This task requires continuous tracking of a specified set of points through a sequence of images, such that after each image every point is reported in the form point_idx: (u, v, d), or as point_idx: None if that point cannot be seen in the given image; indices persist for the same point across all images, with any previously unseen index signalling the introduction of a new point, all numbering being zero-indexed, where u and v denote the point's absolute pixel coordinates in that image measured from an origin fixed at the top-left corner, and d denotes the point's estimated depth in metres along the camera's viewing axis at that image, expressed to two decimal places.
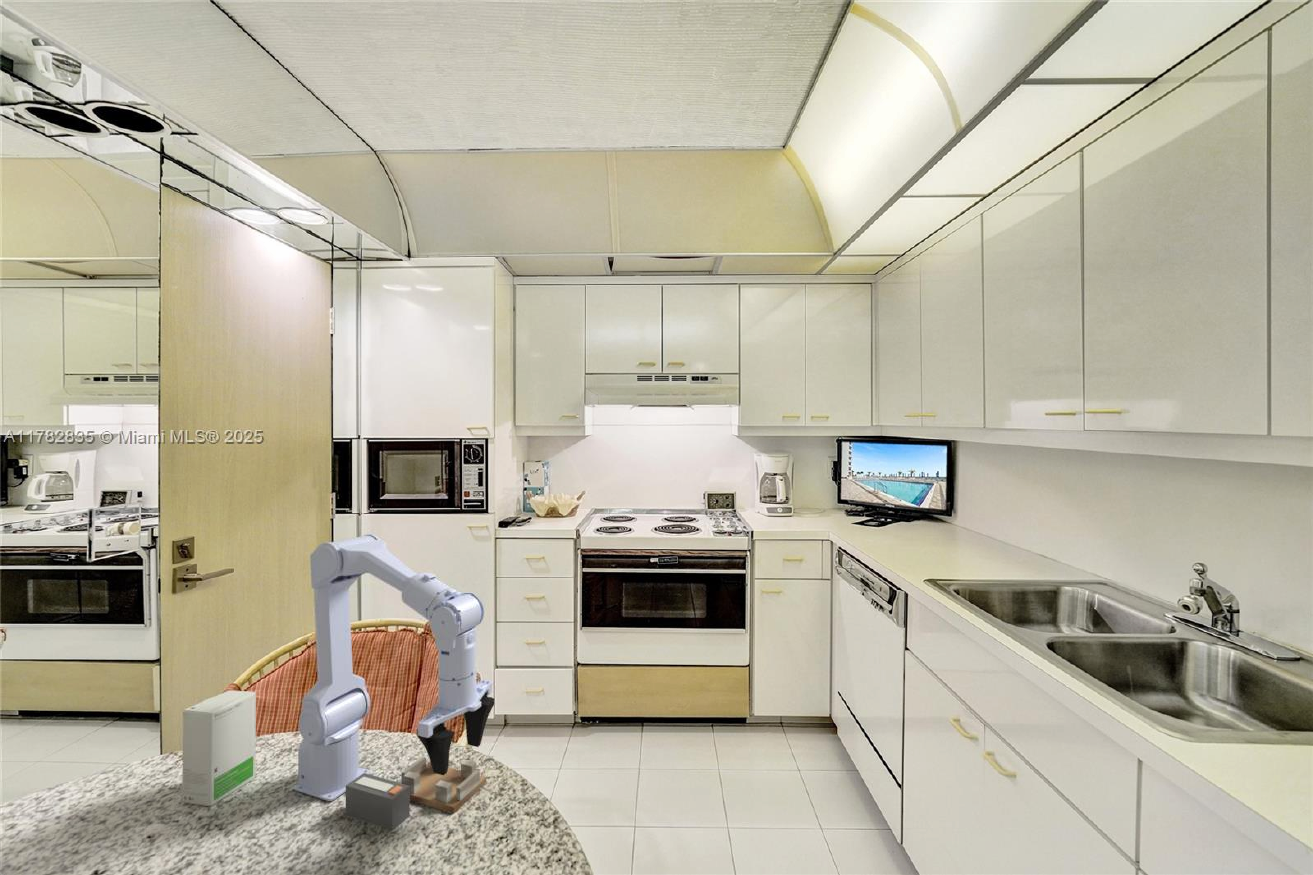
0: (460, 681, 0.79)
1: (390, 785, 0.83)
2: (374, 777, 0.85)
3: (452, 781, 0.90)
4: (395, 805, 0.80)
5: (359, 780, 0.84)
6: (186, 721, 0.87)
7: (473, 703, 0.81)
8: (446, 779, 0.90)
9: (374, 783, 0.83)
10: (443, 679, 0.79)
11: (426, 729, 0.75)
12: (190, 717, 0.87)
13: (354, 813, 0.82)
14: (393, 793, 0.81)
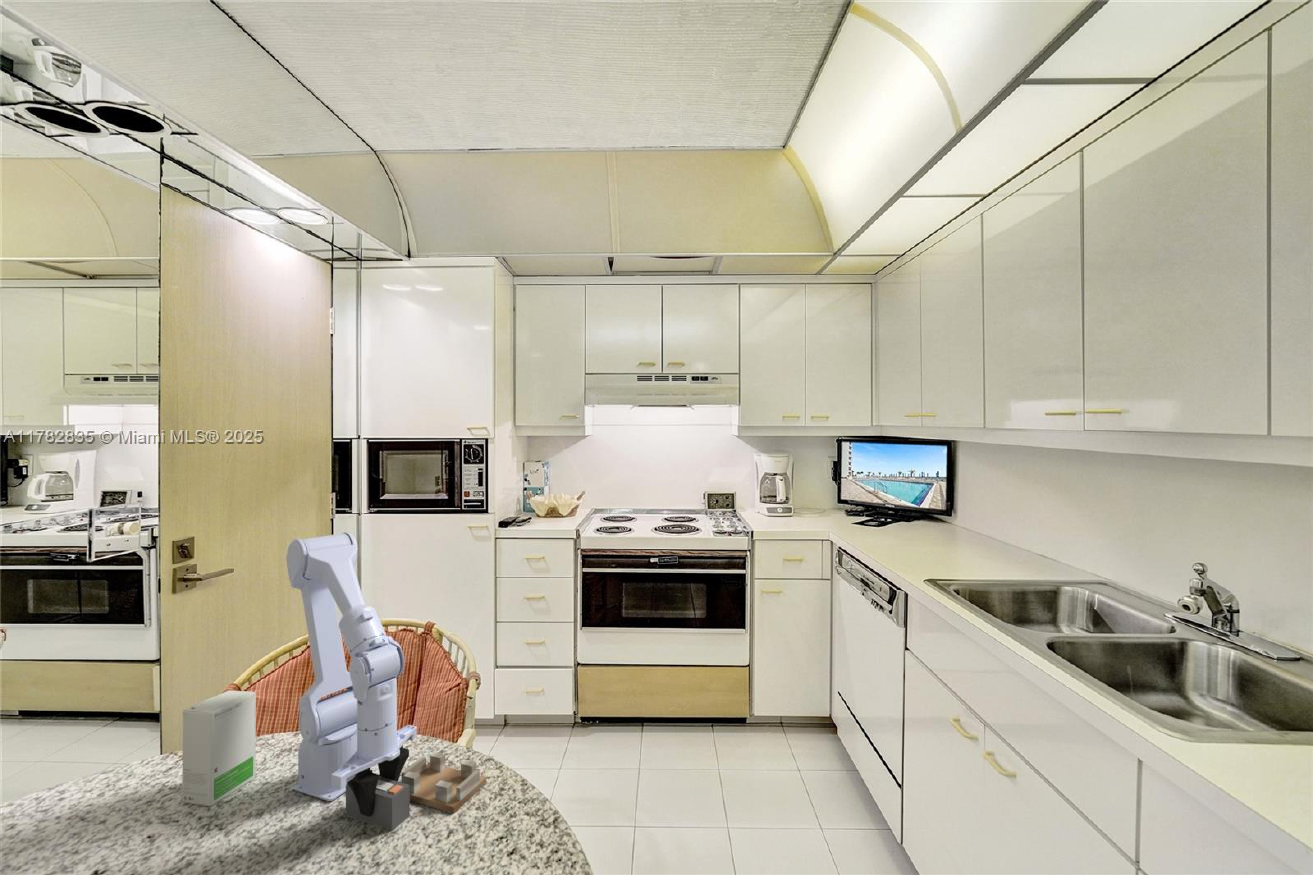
0: (377, 731, 0.81)
1: (390, 784, 0.83)
2: None
3: (452, 781, 0.90)
4: (395, 804, 0.80)
5: None
6: (186, 721, 0.87)
7: (391, 752, 0.82)
8: (446, 779, 0.90)
9: None
10: (360, 729, 0.81)
11: (338, 781, 0.76)
12: (190, 718, 0.87)
13: (354, 812, 0.82)
14: (393, 792, 0.81)
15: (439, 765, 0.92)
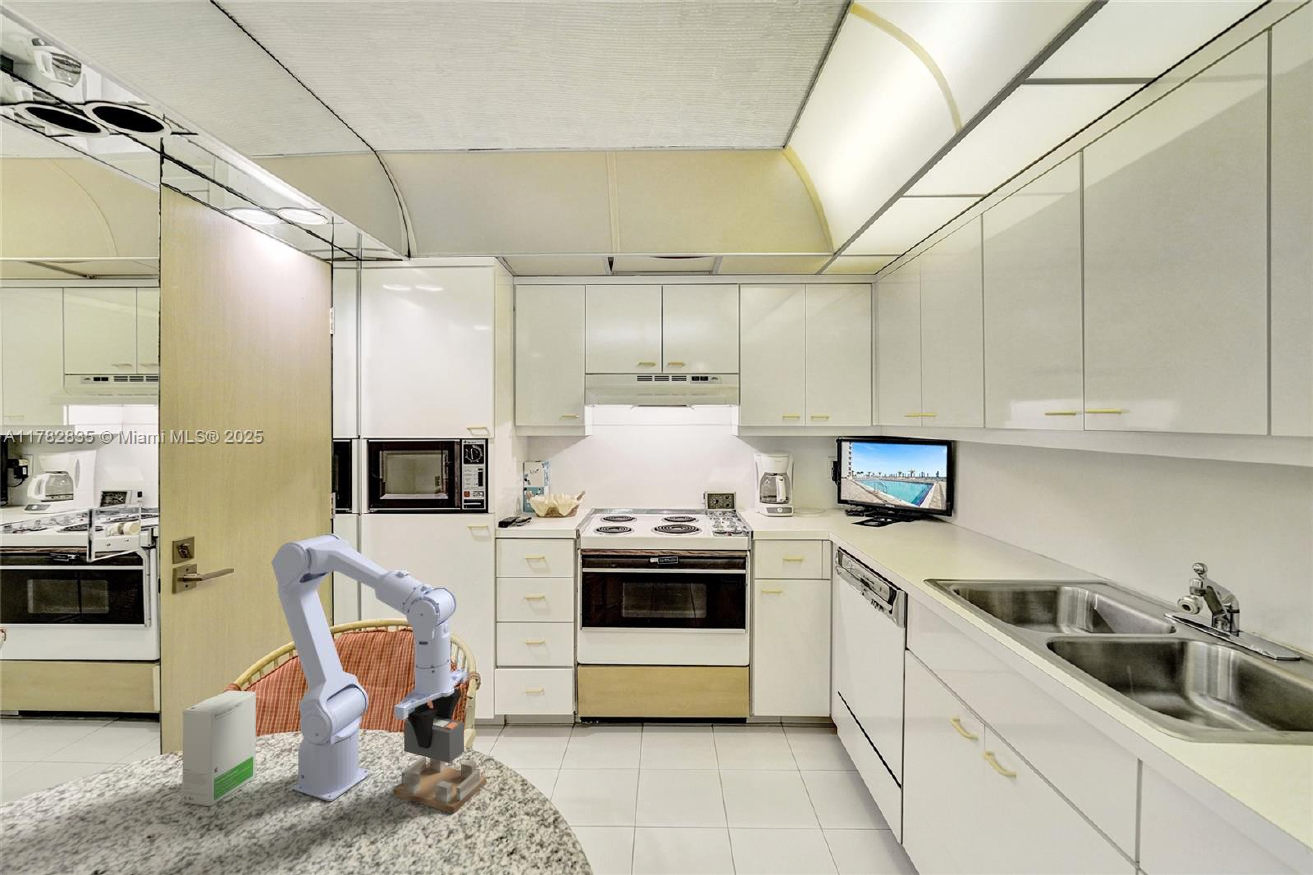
0: (434, 669, 0.86)
1: (446, 722, 0.88)
2: None
3: (452, 781, 0.90)
4: (452, 739, 0.86)
5: None
6: (186, 721, 0.87)
7: (447, 689, 0.88)
8: (446, 779, 0.90)
9: None
10: (418, 667, 0.86)
11: (401, 712, 0.82)
12: (190, 717, 0.87)
13: (412, 748, 0.88)
14: (449, 728, 0.86)
15: (439, 765, 0.92)
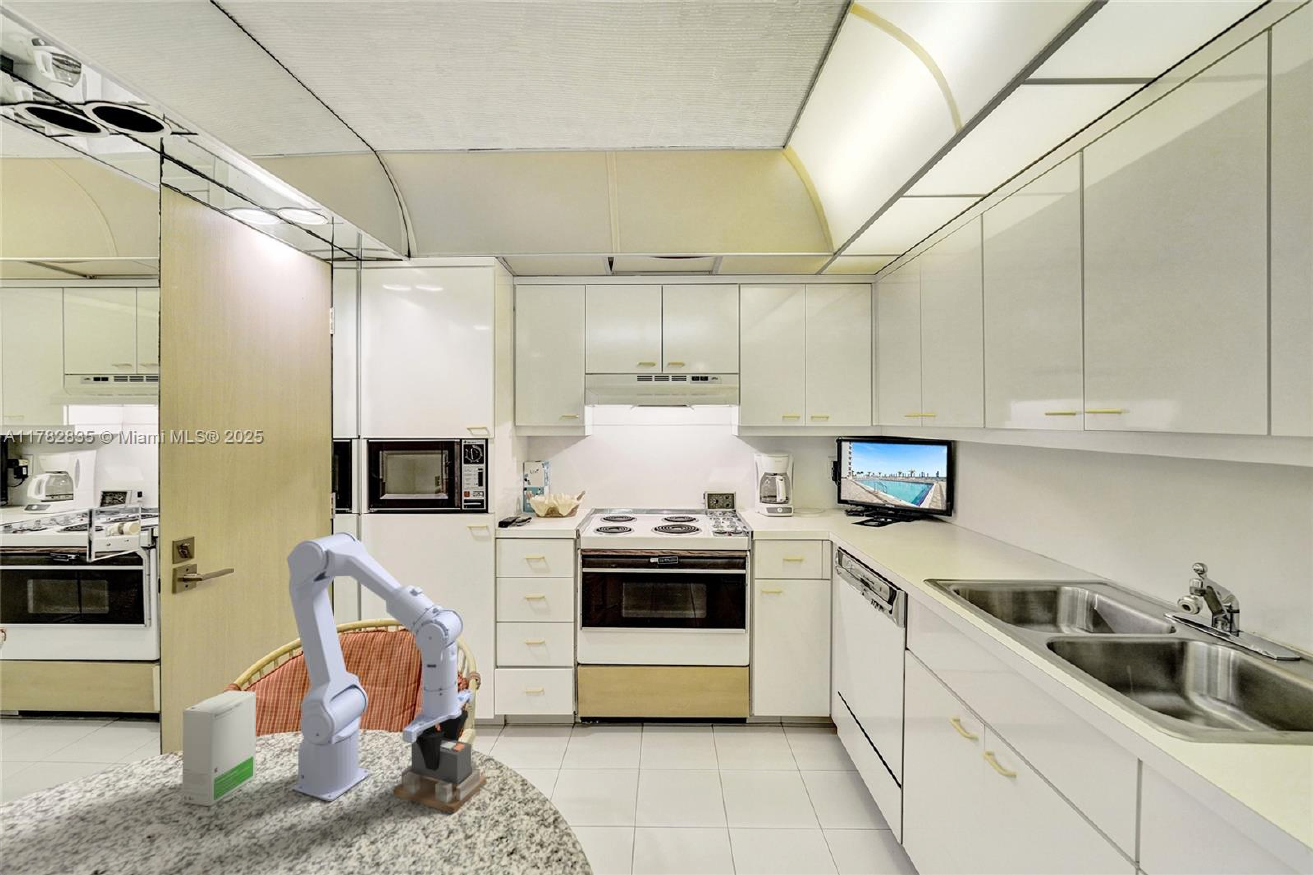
0: (442, 691, 0.87)
1: (453, 743, 0.89)
2: None
3: None
4: (459, 761, 0.87)
5: None
6: (186, 721, 0.87)
7: (454, 711, 0.88)
8: None
9: None
10: (426, 689, 0.87)
11: (410, 735, 0.82)
12: (190, 717, 0.87)
13: (420, 769, 0.89)
14: (457, 750, 0.87)
15: None
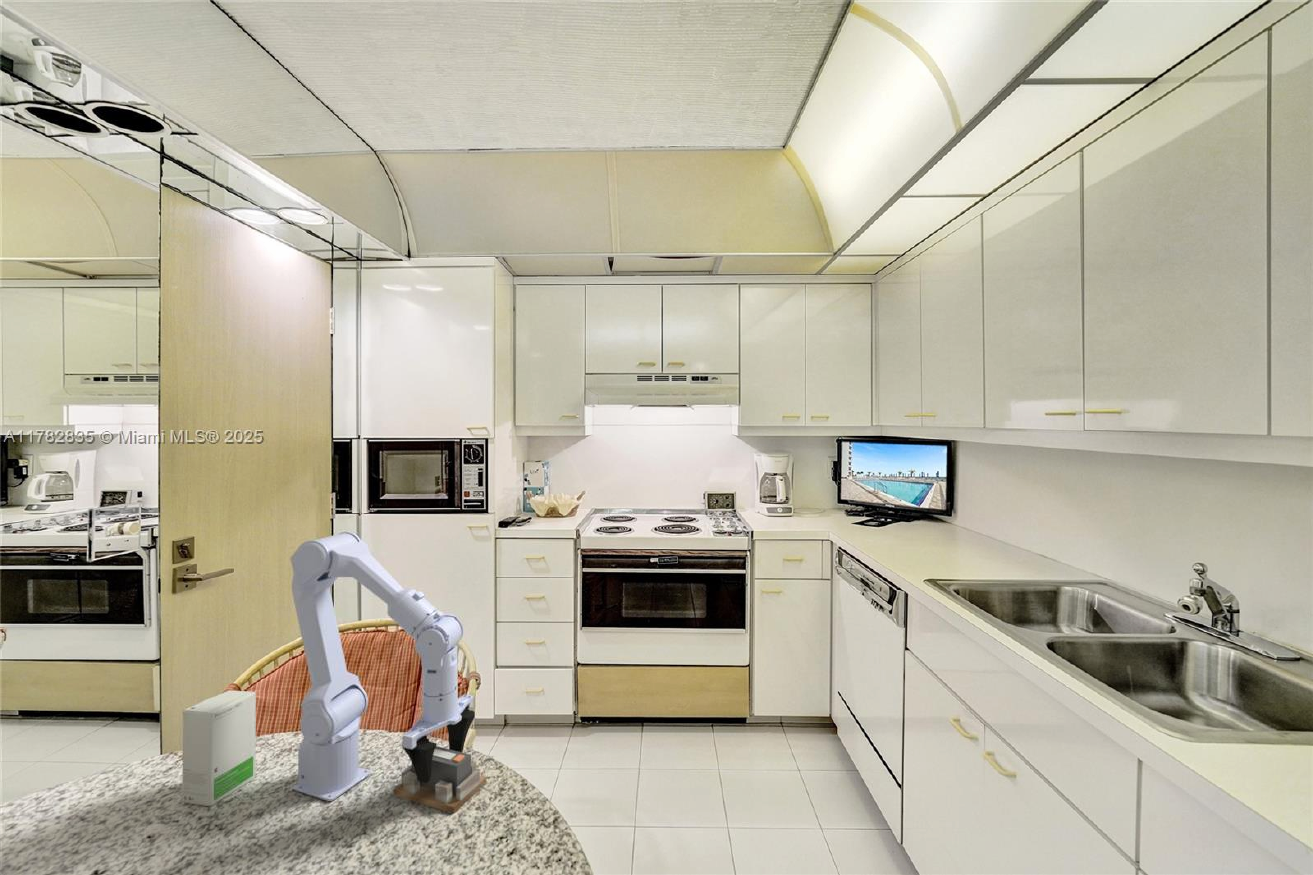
0: (442, 697, 0.87)
1: (453, 754, 0.89)
2: (436, 747, 0.91)
3: None
4: (459, 772, 0.87)
5: None
6: (186, 721, 0.87)
7: (454, 717, 0.88)
8: None
9: (438, 752, 0.90)
10: (426, 695, 0.87)
11: (410, 741, 0.82)
12: (190, 717, 0.87)
13: None
14: (457, 761, 0.87)
15: None
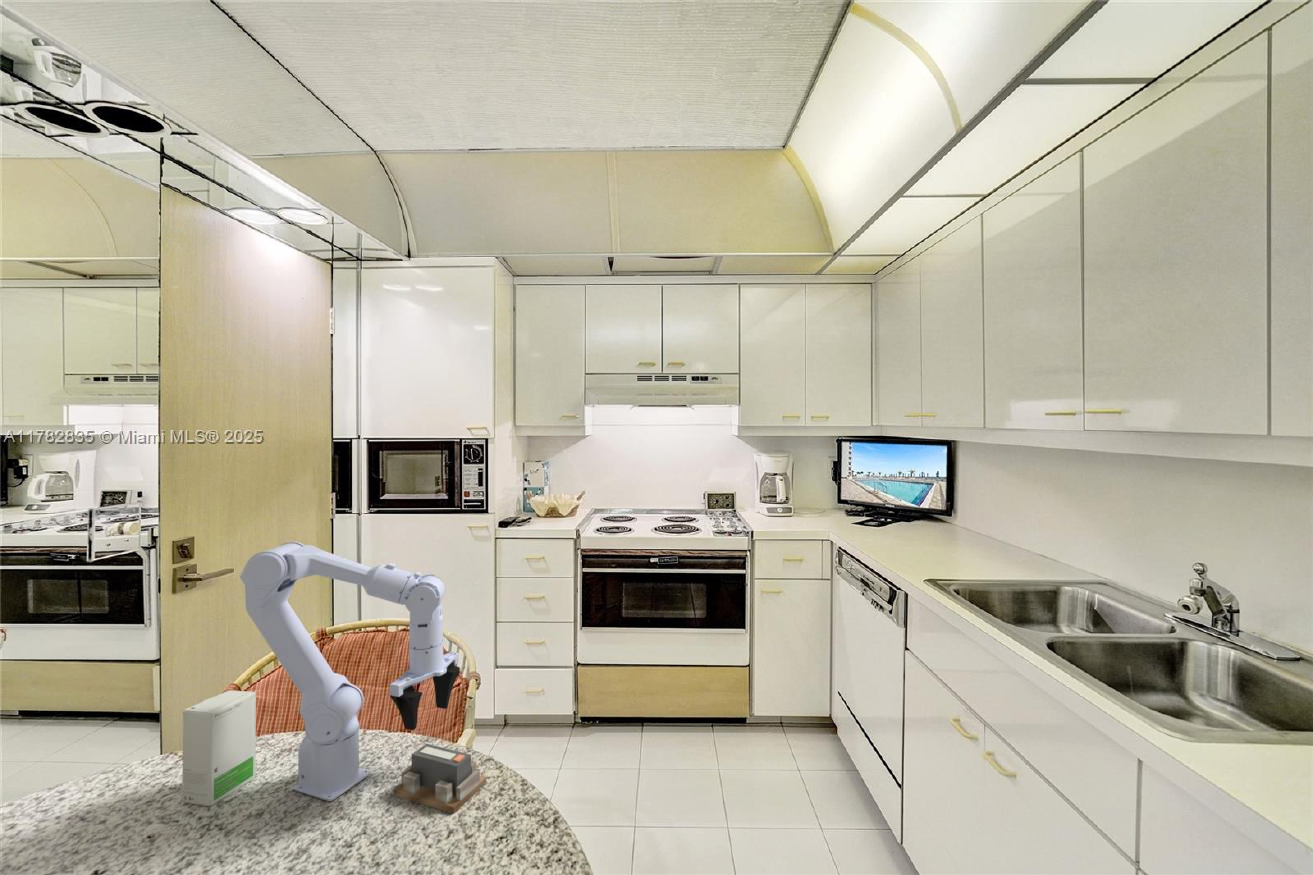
0: (428, 650, 0.92)
1: (453, 754, 0.89)
2: (436, 747, 0.91)
3: None
4: (459, 772, 0.87)
5: (423, 750, 0.91)
6: (186, 721, 0.87)
7: (439, 669, 0.93)
8: None
9: (438, 752, 0.90)
10: (413, 648, 0.92)
11: (397, 689, 0.87)
12: (190, 717, 0.87)
13: (420, 780, 0.89)
14: (457, 761, 0.87)
15: None
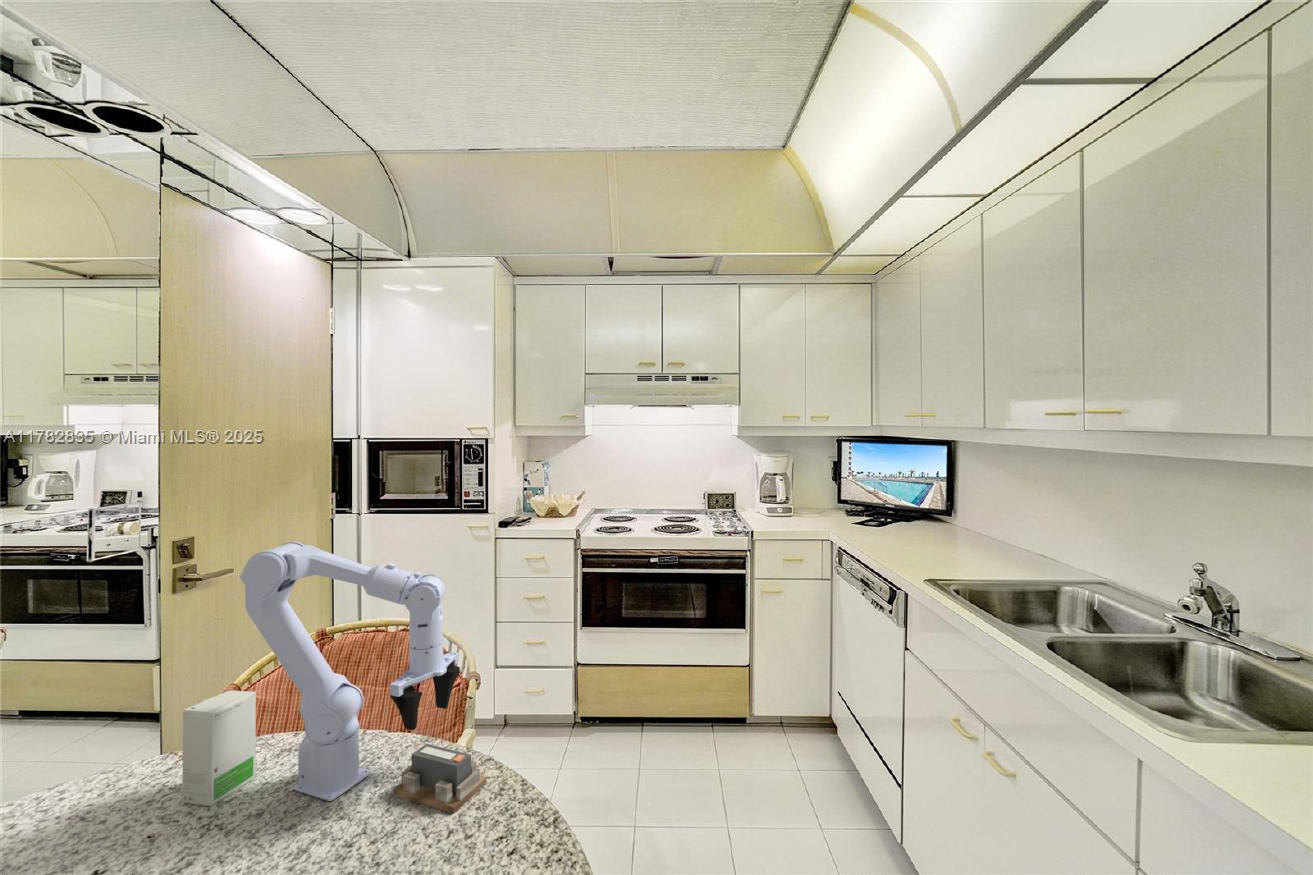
0: (428, 650, 0.92)
1: (453, 754, 0.89)
2: (436, 747, 0.91)
3: None
4: (459, 772, 0.87)
5: (423, 750, 0.91)
6: (186, 721, 0.87)
7: (439, 669, 0.93)
8: None
9: (438, 752, 0.90)
10: (413, 648, 0.92)
11: (397, 689, 0.87)
12: (190, 717, 0.87)
13: (420, 780, 0.89)
14: (457, 761, 0.87)
15: None
